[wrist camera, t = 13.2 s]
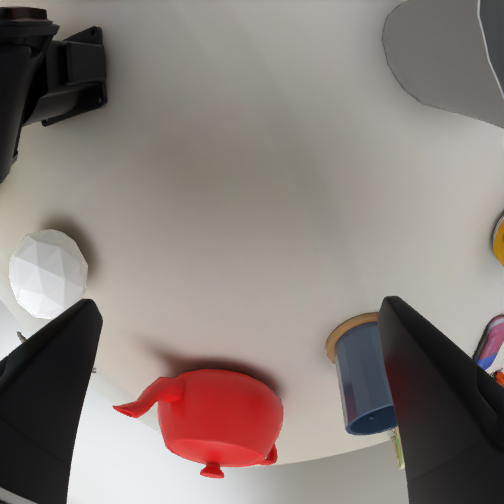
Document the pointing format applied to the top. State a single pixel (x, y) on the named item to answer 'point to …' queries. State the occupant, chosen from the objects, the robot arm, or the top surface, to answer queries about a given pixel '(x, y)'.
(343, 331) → the coaster
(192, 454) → the teapot
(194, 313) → the top surface
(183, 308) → the top surface
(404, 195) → the top surface
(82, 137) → the top surface
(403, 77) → the cup
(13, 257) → the geometric ball
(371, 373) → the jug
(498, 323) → the eraser
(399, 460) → the toy sink
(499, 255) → the beer can
